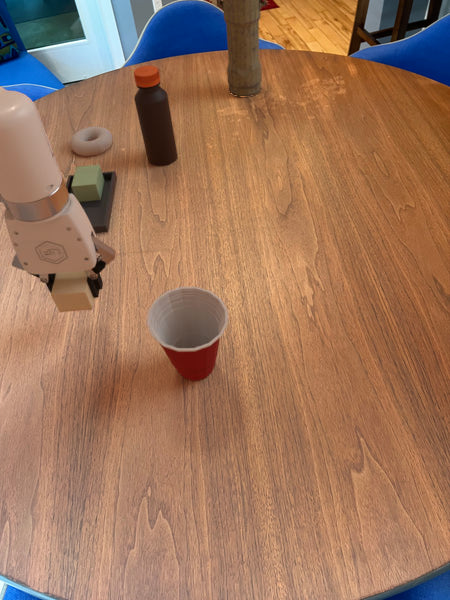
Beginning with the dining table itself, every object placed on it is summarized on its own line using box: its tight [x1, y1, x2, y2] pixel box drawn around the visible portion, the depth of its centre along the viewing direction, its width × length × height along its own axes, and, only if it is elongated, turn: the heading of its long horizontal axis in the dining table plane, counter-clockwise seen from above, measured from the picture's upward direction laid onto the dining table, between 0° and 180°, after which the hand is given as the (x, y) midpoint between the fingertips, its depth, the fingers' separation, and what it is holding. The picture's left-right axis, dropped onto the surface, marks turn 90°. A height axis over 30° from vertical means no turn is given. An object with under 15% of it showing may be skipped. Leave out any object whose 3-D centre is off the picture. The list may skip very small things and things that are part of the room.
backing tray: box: [65, 170, 118, 234], centre depth 98 cm, size 10×18×2 cm, turn 3°
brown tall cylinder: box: [216, 0, 267, 97], centre depth 115 cm, size 9×12×35 cm
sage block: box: [71, 164, 104, 202], centre depth 100 cm, size 5×7×4 cm
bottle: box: [133, 65, 178, 167], centre depth 101 cm, size 7×7×20 cm
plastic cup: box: [146, 286, 229, 382], centre depth 67 cm, size 11×11×12 cm
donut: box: [69, 125, 114, 157], centre depth 113 cm, size 10×3×10 cm
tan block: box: [50, 271, 95, 313], centre depth 72 cm, size 5×7×4 cm
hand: (78, 291), depth 73 cm, fingers closed on tan block, 5 cm apart
